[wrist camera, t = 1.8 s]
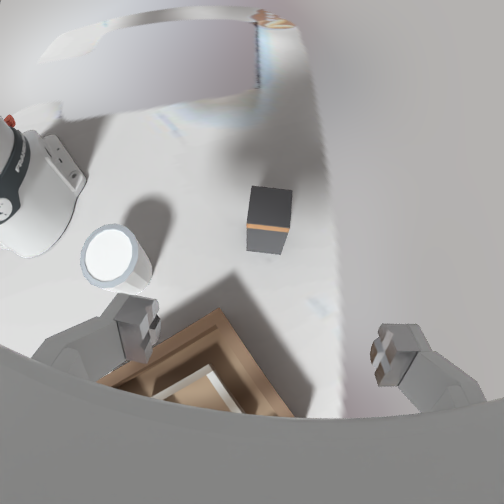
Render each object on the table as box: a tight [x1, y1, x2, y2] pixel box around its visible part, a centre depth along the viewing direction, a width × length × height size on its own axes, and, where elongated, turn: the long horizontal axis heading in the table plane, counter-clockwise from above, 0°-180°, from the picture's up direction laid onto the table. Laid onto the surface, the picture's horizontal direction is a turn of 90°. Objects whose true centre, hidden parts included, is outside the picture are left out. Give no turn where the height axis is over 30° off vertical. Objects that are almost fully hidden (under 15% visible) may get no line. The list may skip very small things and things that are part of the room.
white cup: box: [80, 224, 152, 295], centre depth 31 cm, size 7×7×7 cm
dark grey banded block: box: [247, 186, 292, 255], centre depth 32 cm, size 4×4×8 cm
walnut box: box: [96, 307, 295, 418], centre depth 27 cm, size 16×16×5 cm
